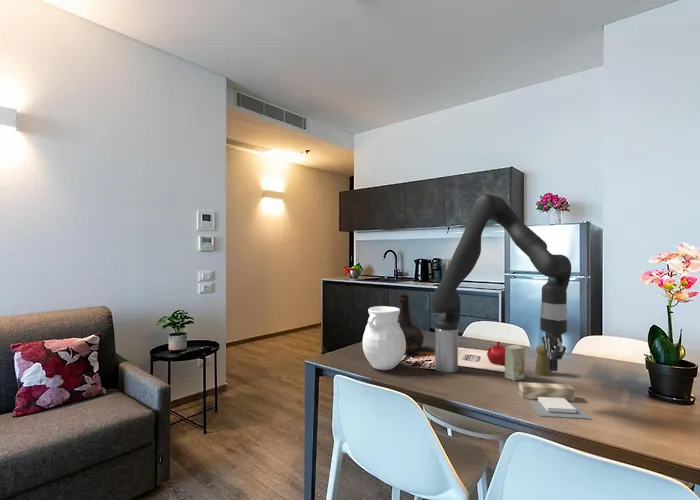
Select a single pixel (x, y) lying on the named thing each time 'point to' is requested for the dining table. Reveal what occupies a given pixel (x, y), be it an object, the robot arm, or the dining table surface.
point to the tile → (556, 405)
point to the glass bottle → (409, 326)
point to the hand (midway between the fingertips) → (552, 370)
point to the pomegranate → (497, 354)
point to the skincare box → (514, 362)
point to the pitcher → (384, 338)
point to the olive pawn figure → (542, 362)
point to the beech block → (546, 390)
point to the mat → (545, 413)
